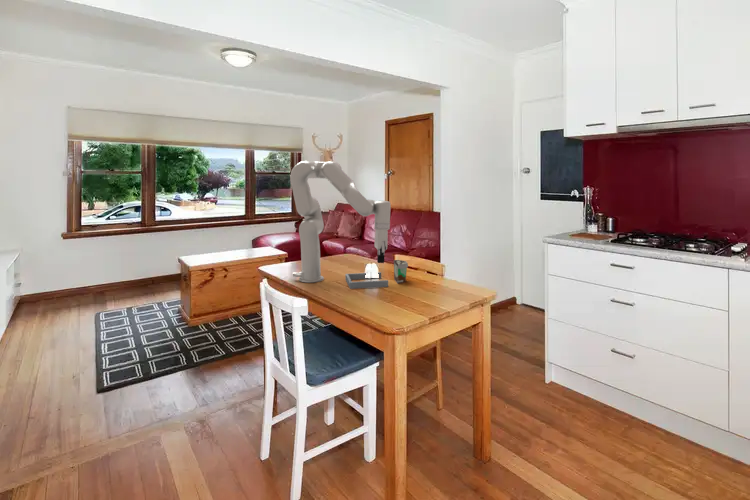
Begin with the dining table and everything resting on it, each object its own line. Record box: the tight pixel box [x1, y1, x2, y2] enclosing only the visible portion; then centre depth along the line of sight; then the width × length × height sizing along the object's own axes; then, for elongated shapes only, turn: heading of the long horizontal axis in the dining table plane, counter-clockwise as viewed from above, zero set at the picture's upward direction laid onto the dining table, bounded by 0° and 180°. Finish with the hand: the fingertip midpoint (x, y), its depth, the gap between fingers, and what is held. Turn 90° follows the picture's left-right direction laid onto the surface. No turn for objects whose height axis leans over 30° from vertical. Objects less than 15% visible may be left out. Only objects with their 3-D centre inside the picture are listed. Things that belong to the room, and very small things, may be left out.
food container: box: [393, 259, 409, 285], centre depth 212 cm, size 12×6×10 cm, turn 8°
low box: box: [344, 271, 389, 290], centre depth 209 cm, size 19×18×3 cm
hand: (380, 262), depth 209 cm, fingers closed
